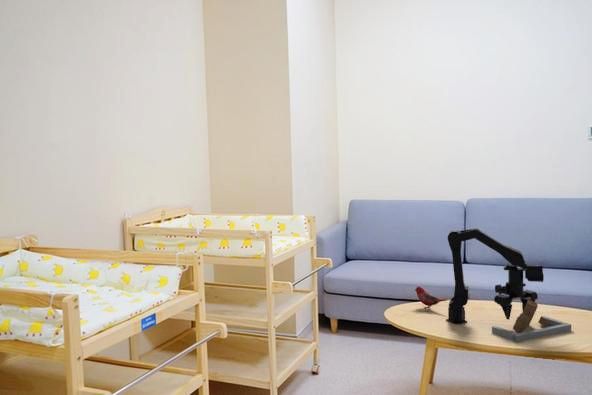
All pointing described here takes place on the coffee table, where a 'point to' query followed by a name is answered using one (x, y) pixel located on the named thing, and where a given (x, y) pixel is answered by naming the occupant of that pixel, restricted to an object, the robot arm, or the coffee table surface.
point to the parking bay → (534, 331)
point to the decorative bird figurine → (427, 297)
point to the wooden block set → (528, 317)
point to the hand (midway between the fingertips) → (516, 317)
